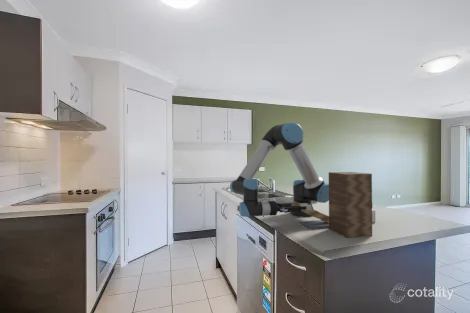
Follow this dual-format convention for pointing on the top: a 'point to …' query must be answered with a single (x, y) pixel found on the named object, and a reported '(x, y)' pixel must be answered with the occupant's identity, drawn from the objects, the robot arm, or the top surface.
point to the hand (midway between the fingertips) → (309, 206)
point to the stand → (350, 203)
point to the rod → (313, 213)
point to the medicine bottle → (373, 216)
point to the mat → (315, 224)
